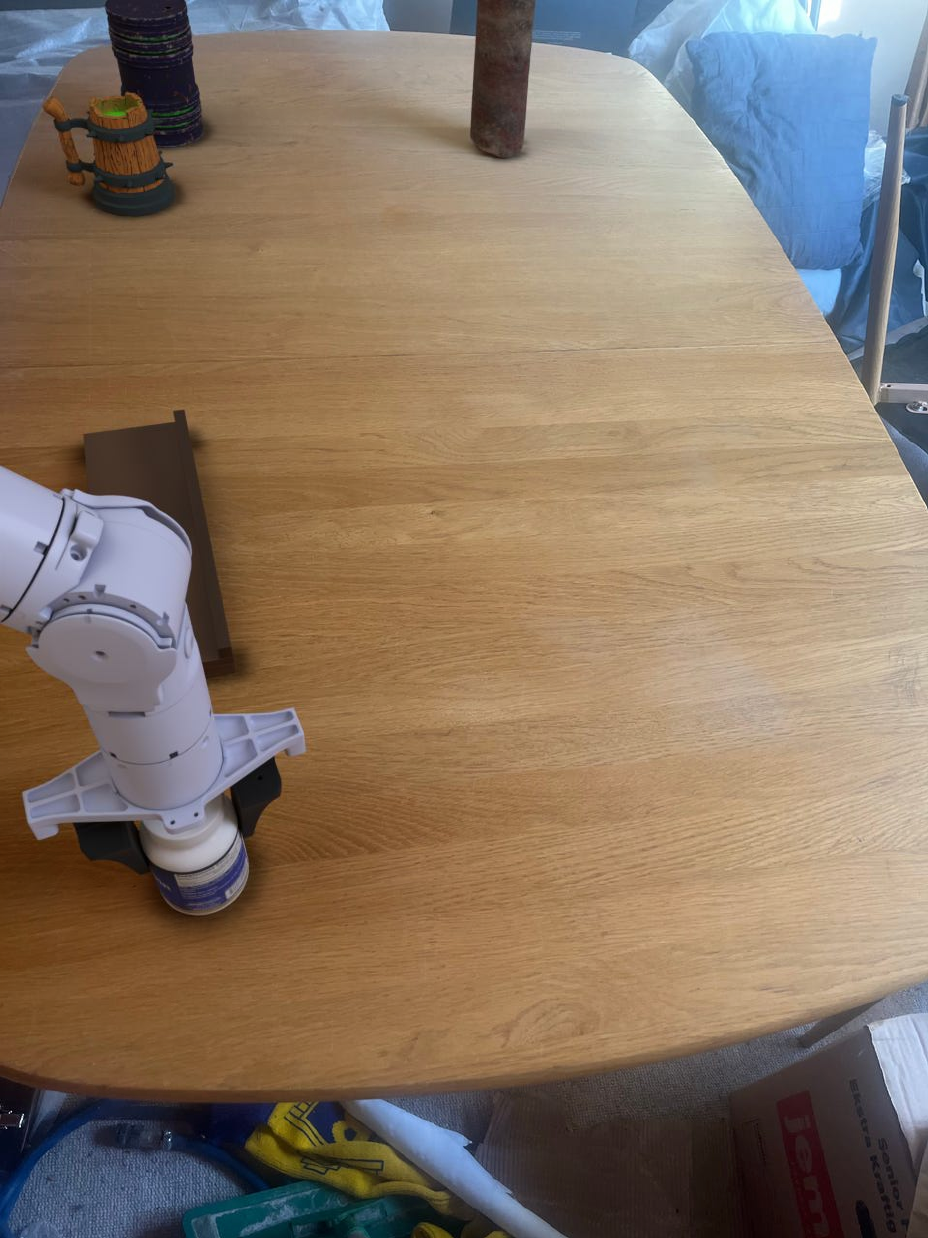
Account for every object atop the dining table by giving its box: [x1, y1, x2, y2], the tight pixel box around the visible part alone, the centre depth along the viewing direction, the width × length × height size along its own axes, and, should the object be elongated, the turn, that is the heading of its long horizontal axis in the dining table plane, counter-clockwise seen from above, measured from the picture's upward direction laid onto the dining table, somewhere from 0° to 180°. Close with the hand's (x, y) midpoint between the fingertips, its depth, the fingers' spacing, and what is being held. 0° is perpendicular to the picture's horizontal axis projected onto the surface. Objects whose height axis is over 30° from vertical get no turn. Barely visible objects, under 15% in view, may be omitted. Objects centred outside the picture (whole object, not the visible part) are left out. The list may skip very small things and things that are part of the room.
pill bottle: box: [138, 791, 250, 916], centre depth 58 cm, size 6×6×10 cm
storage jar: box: [104, 0, 205, 148], centre depth 122 cm, size 10×10×15 cm
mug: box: [41, 92, 177, 217], centre depth 112 cm, size 13×10×12 cm
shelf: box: [82, 409, 237, 679], centre depth 78 cm, size 9×28×3 cm, turn 17°
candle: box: [469, 0, 536, 159], centre depth 124 cm, size 8×7×20 cm
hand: (193, 841), depth 58 cm, fingers closed on pill bottle, 5 cm apart
